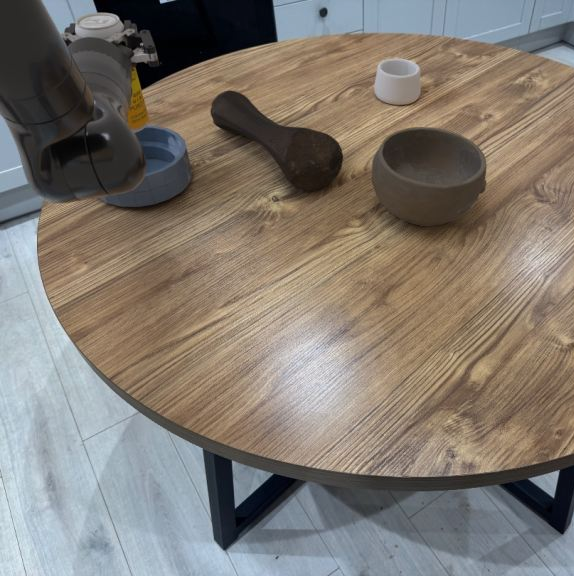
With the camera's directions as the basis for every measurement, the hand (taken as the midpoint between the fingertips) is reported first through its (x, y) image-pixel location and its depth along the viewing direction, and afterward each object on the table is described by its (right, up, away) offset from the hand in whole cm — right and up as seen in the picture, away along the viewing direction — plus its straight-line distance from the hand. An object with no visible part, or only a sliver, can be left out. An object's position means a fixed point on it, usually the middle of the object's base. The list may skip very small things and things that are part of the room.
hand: (102, 29), depth 77 cm
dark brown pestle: (+18, -12, +24) cm, 32 cm away
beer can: (0, -11, +8) cm, 13 cm away
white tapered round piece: (+41, +6, +44) cm, 60 cm away
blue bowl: (-2, -17, +17) cm, 24 cm away
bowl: (+44, -22, +16) cm, 52 cm away
